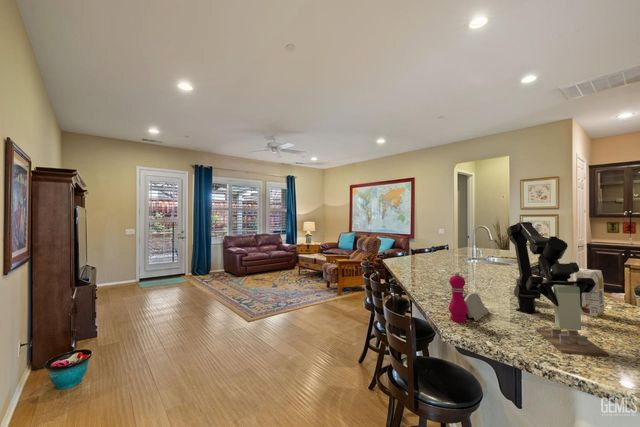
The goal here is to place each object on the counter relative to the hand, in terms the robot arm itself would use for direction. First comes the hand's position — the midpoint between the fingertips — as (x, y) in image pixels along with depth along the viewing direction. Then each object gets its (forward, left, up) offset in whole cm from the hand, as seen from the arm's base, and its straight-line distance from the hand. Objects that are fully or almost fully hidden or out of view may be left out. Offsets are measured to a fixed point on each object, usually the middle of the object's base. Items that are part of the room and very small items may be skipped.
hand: (569, 306), depth 96 cm
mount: (-1, -1, -12) cm, 13 cm away
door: (-1, -1, -8) cm, 8 cm away
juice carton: (-42, -13, -13) cm, 46 cm away
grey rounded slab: (+2, -35, -13) cm, 37 cm away
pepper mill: (+13, -33, -13) cm, 38 cm away
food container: (-38, -37, -13) cm, 54 cm away
